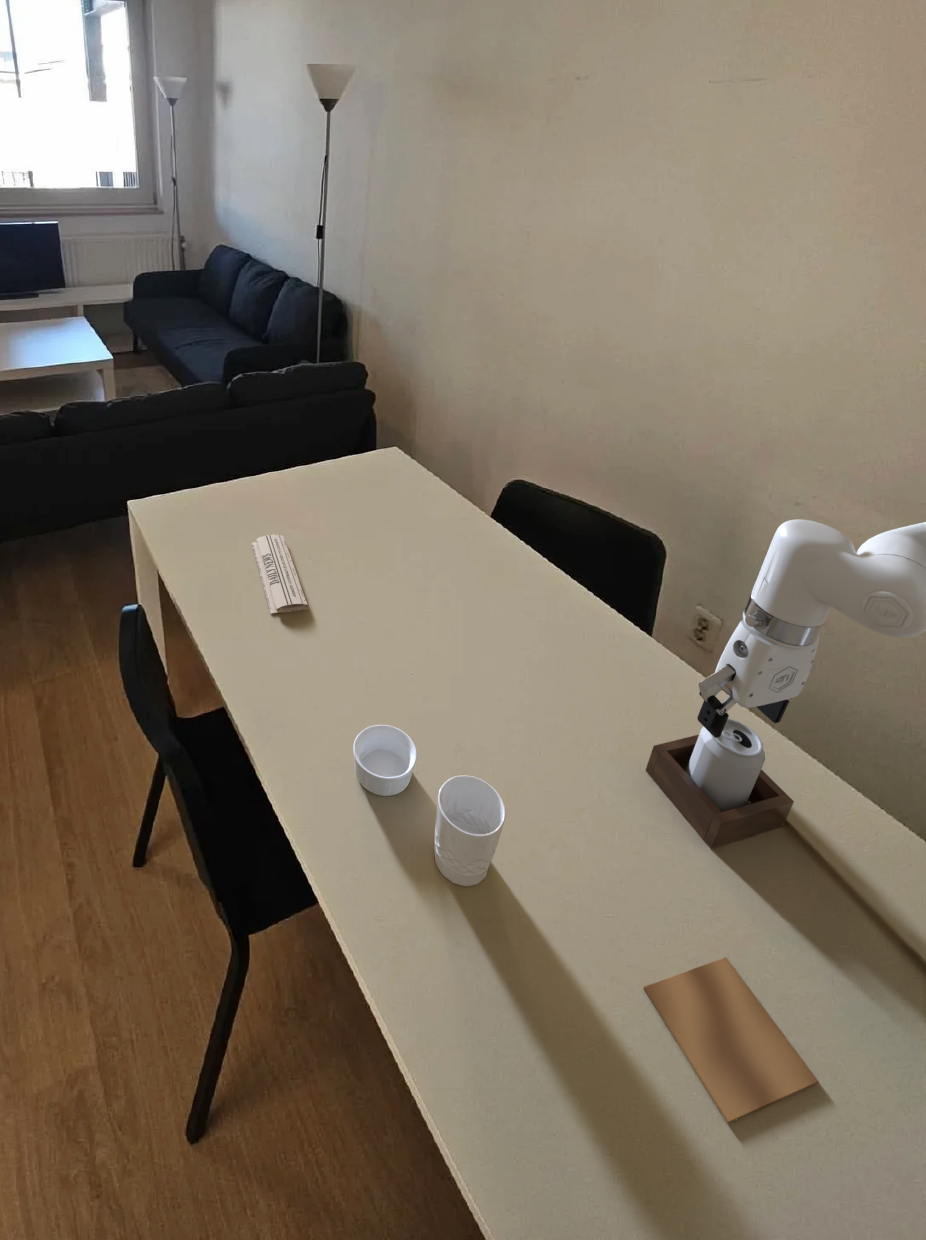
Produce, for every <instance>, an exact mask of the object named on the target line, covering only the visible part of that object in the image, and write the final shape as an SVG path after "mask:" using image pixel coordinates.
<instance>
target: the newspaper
mask: <svg viewBox="0 0 926 1240" xmlns="http://www.w3.org/2000/svg"><path fill="white" fill-rule="evenodd" d="M251 547H252V549H253V554H254V557H255V561H256V566H257V568H258V572H259V576H260V579H261V580H260V581H261V584H262V587H263V591H264V595H265V599H266V602H267V607H268V610H269V614H271V615H273V614H277V613H280V614H281V613H292V612H293V613H294V612H301V611H303V610H306V609H307V608H308V607H309V606H308V605H309V604H308V602H307V599H306V596H305V594H304V590H303V588H302V585H301V581H300V579H299V576H298V573H297V570H296V567H295V565H294V562H293V559H292V557H291V553H290V551H289V548H288V546H287V542H286V539H285V536H284V535H281V534H267V535H262V536H260V537H257V538H256V541H254V542H253V541H252V542H251Z"/></svg>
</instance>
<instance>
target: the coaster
mask: <svg viewBox="0 0 926 1240" xmlns="http://www.w3.org/2000/svg"><path fill="white" fill-rule="evenodd" d="M642 989H643V991H644V993H645V994H646V996H647V997H648V998H649V1000H650V1002H651V1004H652V1005H653V1007H654V1008H655V1011H657V1013H658V1015H659V1016H660V1018H661V1020H662V1021H663V1023H664V1025H665V1026H666V1028H667V1029H668V1031H669V1033H670V1034H671V1036H672V1037H673V1039H674V1040H675V1042H676V1044H677V1046H678V1047H679V1048H680V1050H681V1052H682V1054H683V1055H684V1056H685V1058H686V1060H687V1062H688V1063H689V1065H690V1067H691V1068H692V1070H693V1072H694V1073H695V1074H696V1076H697V1077H698V1079H699V1081H700V1082H701V1084H702V1087H704V1089H705V1090H706V1093H707V1094H708V1095H709V1097H710V1099H711V1100H712V1101H713V1103H714V1105H715V1104H716V1105H715V1107H716V1108H717V1109H718V1112H719V1113H720V1115H721V1116H722V1115H723V1116H722V1118H723V1117H724V1118H723V1119H724V1121H725V1122H726V1121H727V1122H726V1124H727V1123H729V1124H731V1123H732V1122H731V1121H733V1122H735V1121H737V1120H736V1119H738V1120H740V1119H742V1118H744V1117H746V1116H749V1115H751V1114H754V1113H755V1112H758V1111H759V1110H762V1109H764V1108H767V1107H768V1106H771V1105H773V1104H775V1103H778V1102H779V1101H782V1100H784V1099H786V1098H788V1097H790V1096H793V1095H795V1094H797V1093H800V1092H802V1091H804V1090H807V1089H808V1088H811V1087H813V1086H815V1085H817V1084H819V1080H818V1079H817V1077H816V1076H815V1074H814V1073H813V1072H812V1071H811V1069H810V1068H809V1067H808V1065H807V1064H806V1062H805V1061H804V1060H803V1058H802V1057H801V1056H800V1054H799V1053H798V1052H797V1050H796V1049H795V1048H794V1047H793V1045H792V1044H791V1043H790V1041H789V1040H788V1038H787V1037H786V1036H785V1034H784V1033H783V1031H782V1030H781V1029H780V1028H779V1026H778V1025H777V1023H776V1022H775V1021H774V1020H773V1018H772V1017H771V1015H770V1014H769V1013H768V1011H767V1010H766V1009H765V1008H764V1006H763V1005H762V1003H761V1002H760V1001H759V999H758V998H757V996H755V994H754V992H753V991H752V990H751V989H750V987H749V986H748V985H747V984H746V982H745V980H743V978H742V977H741V975H740V974H739V972H738V971H737V970H736V968H735V967H734V965H733V964H732V963H731V962H730V961H729V959H728V958H727V957H726V956H725V957H721V958H719V959H716V960H714V961H712V962H708V963H705V964H702V965H700V966H697V967H695V968H691V969H689V970H686V971H683V972H680V973H678V974H675V975H672V976H670V977H667V978H665V979H662V980H659V981H656V982H654V983H651V984H648V985H645V986H643V988H642ZM748 1114H749V1115H748ZM745 1115H746V1116H745ZM743 1116H744V1117H743ZM741 1117H742V1118H741ZM739 1118H740V1119H739ZM734 1120H735V1121H734ZM730 1122H731V1123H730Z"/></svg>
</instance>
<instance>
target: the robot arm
mask: <svg viewBox="0 0 926 1240" xmlns="http://www.w3.org/2000/svg"><path fill="white" fill-rule="evenodd" d="M832 609H834V610H835V611H837V612H838V613H841V614H842V615H844V616H845V617H847V618H849V619H851V620H852V621H854V622H856V623H857V624H860V625H861V626H863V627H865V628H867V629H869V630H870V631H873V632H876V633H878V634H880V635H882V636H887V637H892V638H897V639H899V638H900V639H906V638H915V637H918V636H919V635H922V634H924V633H925V632H926V521H924V522H919V523H915V524H910V525H907V526H901V527H898V528H894V529H890V530H887V531H884V532H881V533H877V534H876V535H874V536H871V537H870V538H868V539H867V540H865V542H863V543H862V544H861V545H860V546H859V548H858V549H857V550H856V548H855V545H854V544H853V541H851V540H850V538H849V537H847V535H845V534H844V533H843V532H841V531H839V530H838V529H836V528H834V527H832V526H829V525H827V524H824V523H821V522H818V521H815V520H809V519H802V518H800V519H799V518H797V519H796V518H795V519H789V520H787V521H784V522H782V523H781V524H780V525H779V526H778V527H777V529H776V531H775V532H774V535H773V537H772V539H771V542H770V545H769V547H768V550H767V553H766V555H765V557H764V560H763V562H762V565H761V567H760V570H759V573H758V575H757V578H756V580H755V582H754V585H753V587H752V590H751V593H750V595H749V597H748V600H747V603H746V605H745V607H744V610H743V612H742V620H740V622H739V623H738V625H737V626H736V627H735V630H734V631H733V633H732V635H731V636H730V638H729V640H728V642H727V644H726V645H725V647H724V650H723V651H722V654H721V656H720V658H719V660H718V662H717V665H716V668H715V671H714V673H712V674H710V675H709V676H707V677H705V678H703V679H702V680H700V681H699V682H698V690H699V696H700V697H701V698H702V700H703V702H702V705H701V708H700V710H699V713H698V715H697V717H696V718H697V721H698V722H699V724H701V726H702V727H703V726H704V727H705V728H706V729H707V730H708V731H709V732H710V733H711V734H712V735H713V737H715V738H718V737H720V736H721V734H722V731H723V729H724V726H725V724H726V722H727V719H728V718H730V714H729V713H728V712H729V711H730V710H731V709H732V708H733V707H734V706H735V705H738V706H739V707H741V708H747V709H748V708H749V709H750V708H757V710H759V711H760V712H761V713H762V714H763V715H764V716H765V717H766V718H767V719H769V721H771V722H772V723H774V724H779V723H780V722H781V721H782V719H783V716H784V714H785V712H786V711H787V708H788V705H789V704H790V700H792V699H793V698H795V697H797V696H799V695H800V694H801V693H802V691H803V689H804V686H805V684H806V682H807V681H808V677H809V675H810V673H811V672H812V671H813V669H814V668H815V664H814V661H815V658H816V654H817V651H818V647H819V642H820V634H821V631H822V629H823V627H824V625H825V622H826V621H827V618H828V616H829V614H830V612H831V610H832ZM729 683H731V686H732V689H731V688H730V687H728V685H727V684H729ZM722 690H723V691H724V692H725V693H726V694H727V695H728V697H727V698H726V699H725V700H724V701H720V700H719V699H718V697H717V695H718V694H719V693H720V692H722Z"/></svg>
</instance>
